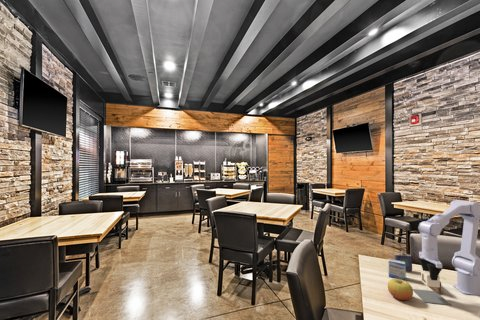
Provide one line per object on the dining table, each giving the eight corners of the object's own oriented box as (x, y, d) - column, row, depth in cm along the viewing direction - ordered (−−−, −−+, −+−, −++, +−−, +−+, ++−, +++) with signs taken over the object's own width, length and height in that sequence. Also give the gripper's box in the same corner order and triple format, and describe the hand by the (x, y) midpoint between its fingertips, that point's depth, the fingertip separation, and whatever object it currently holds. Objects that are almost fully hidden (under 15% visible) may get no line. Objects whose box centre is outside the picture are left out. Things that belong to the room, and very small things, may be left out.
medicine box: (388, 276, 128) (388, 261, 128) (388, 273, 132) (388, 258, 132) (406, 280, 124) (405, 264, 124) (405, 277, 127) (405, 261, 128)
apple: (412, 306, 101) (411, 287, 101) (386, 298, 107) (385, 280, 108) (414, 296, 108) (413, 279, 109) (389, 289, 115) (389, 273, 115)
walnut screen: (428, 281, 123) (427, 270, 123) (444, 294, 110) (444, 283, 110) (421, 280, 123) (421, 270, 123) (437, 294, 110) (436, 282, 111)
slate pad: (435, 292, 112) (435, 291, 112) (451, 305, 102) (451, 304, 102) (412, 289, 114) (412, 288, 114) (425, 302, 104) (425, 301, 104)
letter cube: (433, 281, 110) (432, 271, 110) (439, 287, 105) (439, 276, 105) (420, 280, 111) (420, 270, 111) (426, 286, 106) (426, 275, 106)
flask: (395, 270, 136) (394, 251, 136) (393, 268, 139) (392, 250, 139) (413, 271, 134) (412, 253, 134) (410, 269, 136) (410, 251, 137)
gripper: (411, 242, 116) (412, 269, 116) (429, 252, 102) (429, 283, 102) (427, 243, 115) (428, 270, 115) (447, 254, 101) (448, 285, 100)
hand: (430, 277), depth 108 cm, fingers closed on letter cube, 5 cm apart
